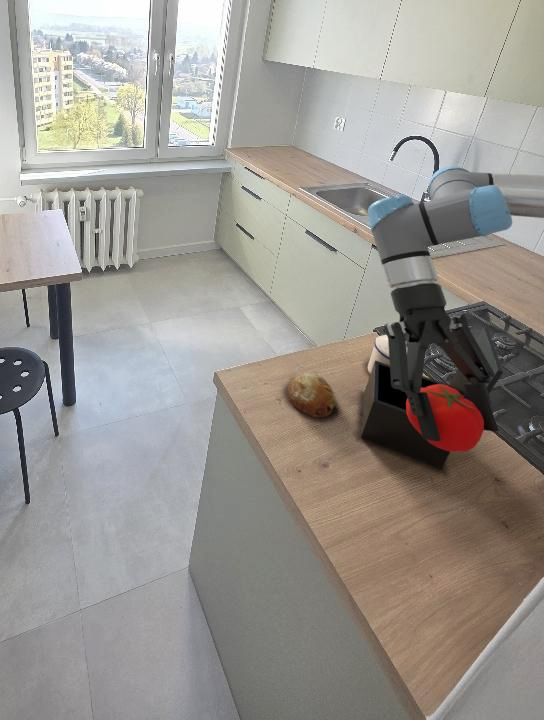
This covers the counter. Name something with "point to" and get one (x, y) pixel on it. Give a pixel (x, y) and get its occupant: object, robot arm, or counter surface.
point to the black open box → (395, 419)
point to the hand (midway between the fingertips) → (460, 434)
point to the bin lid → (491, 355)
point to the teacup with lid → (380, 352)
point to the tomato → (451, 419)
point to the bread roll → (312, 395)
